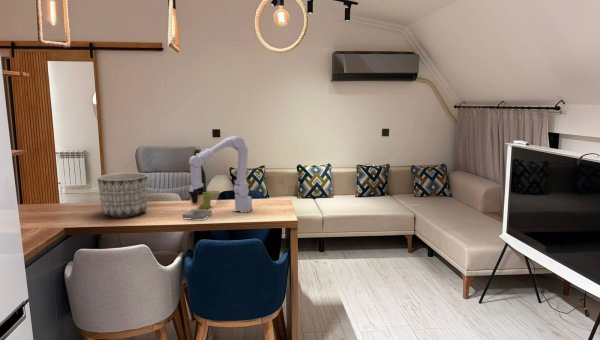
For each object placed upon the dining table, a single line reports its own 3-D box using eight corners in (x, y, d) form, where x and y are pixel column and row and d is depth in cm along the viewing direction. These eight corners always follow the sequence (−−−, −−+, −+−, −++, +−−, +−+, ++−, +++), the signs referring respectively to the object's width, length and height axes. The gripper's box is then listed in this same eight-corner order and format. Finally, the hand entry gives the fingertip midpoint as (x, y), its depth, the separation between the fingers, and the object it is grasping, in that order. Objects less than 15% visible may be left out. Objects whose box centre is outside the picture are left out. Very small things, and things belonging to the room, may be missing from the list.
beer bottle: (188, 201, 281) (186, 150, 276) (193, 198, 291) (190, 148, 286) (205, 201, 281) (203, 150, 275) (208, 198, 291) (207, 148, 286)
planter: (101, 210, 259) (98, 174, 255) (148, 206, 268) (146, 171, 264) (98, 222, 235) (95, 181, 231) (150, 217, 244) (148, 178, 240)
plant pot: (194, 209, 262) (193, 194, 261) (202, 205, 271) (201, 191, 270) (208, 210, 260) (207, 195, 258) (215, 206, 268) (215, 192, 267)
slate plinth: (211, 215, 250) (211, 210, 250) (203, 221, 238) (203, 215, 238) (192, 214, 252) (191, 209, 252) (182, 219, 241) (182, 214, 240)
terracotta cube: (203, 203, 246) (203, 194, 245) (199, 205, 241) (199, 196, 240) (195, 203, 247) (194, 194, 246) (191, 205, 242) (190, 196, 241)
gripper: (194, 175, 249) (195, 198, 252) (183, 179, 235) (184, 204, 238) (206, 175, 248) (207, 199, 250) (195, 180, 234) (196, 205, 236)
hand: (197, 201), depth 244 cm, fingers closed on terracotta cube, 5 cm apart
